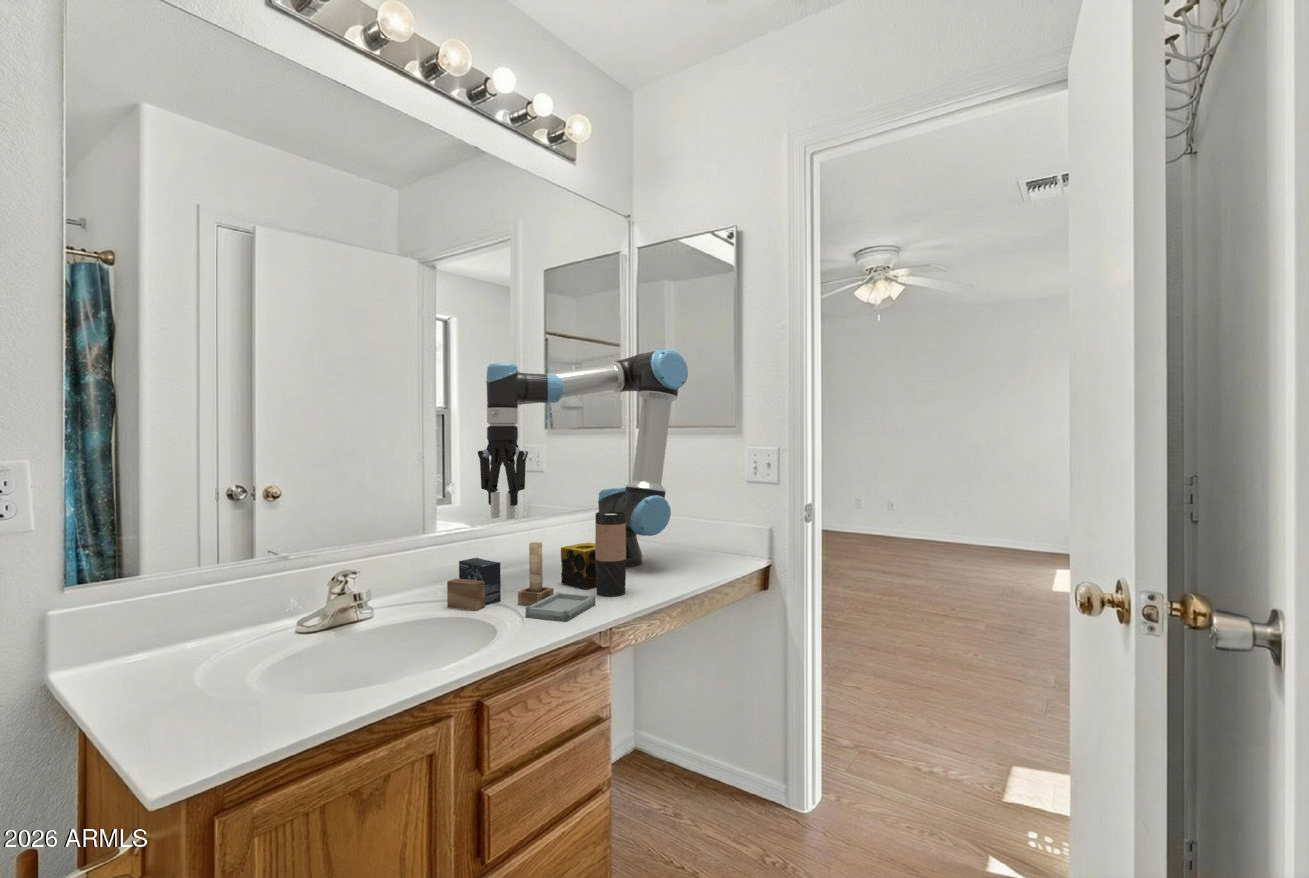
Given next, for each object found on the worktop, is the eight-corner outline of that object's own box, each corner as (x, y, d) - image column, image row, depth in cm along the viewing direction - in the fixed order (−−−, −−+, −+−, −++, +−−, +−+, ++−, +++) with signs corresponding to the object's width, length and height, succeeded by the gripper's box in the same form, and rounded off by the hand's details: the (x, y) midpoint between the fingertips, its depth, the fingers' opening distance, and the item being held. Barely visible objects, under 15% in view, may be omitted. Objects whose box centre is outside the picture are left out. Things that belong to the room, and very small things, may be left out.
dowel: (533, 600, 150) (533, 541, 150) (544, 601, 149) (544, 542, 149) (527, 603, 147) (526, 544, 147) (538, 604, 146) (538, 544, 146)
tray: (557, 600, 150) (557, 592, 150) (595, 604, 146) (595, 596, 146) (525, 617, 137) (525, 607, 137) (566, 621, 133) (566, 612, 133)
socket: (531, 598, 152) (531, 585, 152) (553, 600, 150) (553, 587, 150) (518, 604, 147) (518, 591, 147) (540, 606, 144) (540, 593, 144)
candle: (614, 583, 167) (614, 546, 167) (585, 590, 160) (585, 551, 160) (589, 577, 174) (589, 541, 174) (560, 584, 167) (560, 546, 167)
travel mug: (621, 597, 152) (621, 515, 152) (591, 596, 154) (591, 514, 154) (629, 590, 160) (629, 511, 160) (600, 588, 161) (600, 510, 161)
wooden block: (455, 604, 147) (455, 578, 147) (484, 607, 144) (484, 581, 144) (447, 607, 144) (447, 581, 144) (476, 610, 142) (476, 584, 142)
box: (458, 600, 151) (457, 560, 151) (477, 595, 156) (477, 556, 155) (482, 606, 145) (481, 565, 145) (501, 601, 150) (501, 561, 150)
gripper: (465, 425, 158) (465, 518, 158) (523, 424, 152) (524, 521, 152) (483, 425, 165) (483, 515, 165) (539, 425, 159) (540, 517, 159)
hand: (503, 518), depth 158 cm, fingers open, 4 cm apart
